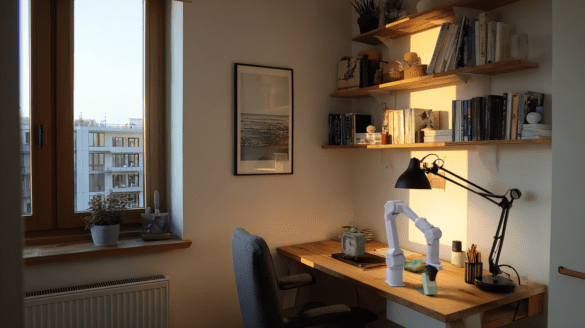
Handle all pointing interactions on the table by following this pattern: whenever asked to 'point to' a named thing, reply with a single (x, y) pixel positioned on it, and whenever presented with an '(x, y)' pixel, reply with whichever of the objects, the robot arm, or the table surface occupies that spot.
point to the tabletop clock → (353, 242)
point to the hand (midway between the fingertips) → (432, 280)
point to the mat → (419, 289)
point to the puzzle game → (415, 265)
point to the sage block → (429, 285)
